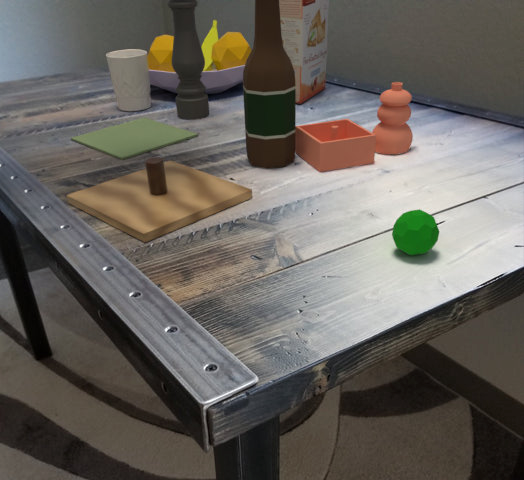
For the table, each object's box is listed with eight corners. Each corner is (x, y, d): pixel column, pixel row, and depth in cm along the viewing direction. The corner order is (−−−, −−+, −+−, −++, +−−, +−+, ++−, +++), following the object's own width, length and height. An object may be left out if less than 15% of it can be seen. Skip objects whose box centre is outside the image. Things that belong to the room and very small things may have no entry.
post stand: (145, 242, 70) (137, 198, 66) (68, 203, 80) (58, 163, 77) (252, 197, 80) (250, 157, 76) (171, 167, 90) (166, 130, 87)
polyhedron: (381, 249, 66) (385, 210, 64) (413, 238, 68) (418, 199, 65) (412, 267, 63) (417, 226, 60) (444, 254, 65) (451, 214, 62)
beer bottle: (305, 161, 90) (308, -21, 76) (264, 173, 87) (258, -16, 72) (276, 149, 95) (274, -25, 81) (236, 159, 92) (226, -20, 78)
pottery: (319, 172, 86) (321, 102, 80) (295, 152, 94) (295, 87, 88) (424, 154, 91) (433, 87, 85) (393, 137, 98) (400, 74, 92)
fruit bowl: (218, 108, 116) (214, 45, 109) (115, 95, 127) (105, 37, 120) (285, 78, 135) (284, 23, 128) (190, 69, 146) (185, 17, 139)
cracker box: (303, 105, 116) (304, -19, 103) (275, 102, 118) (273, -19, 106) (327, 88, 126) (331, -26, 113) (302, 86, 128) (303, -26, 116)
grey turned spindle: (194, 121, 110) (178, -38, 94) (171, 116, 113) (152, -39, 97) (216, 113, 113) (204, -41, 98) (192, 108, 116) (177, -41, 101)
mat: (122, 160, 93) (121, 157, 93) (70, 140, 103) (70, 137, 102) (198, 136, 102) (198, 133, 102) (144, 119, 111) (144, 117, 111)
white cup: (162, 104, 120) (155, 51, 114) (136, 114, 114) (127, 58, 108) (133, 100, 123) (125, 48, 117) (107, 109, 118) (97, 55, 112)
